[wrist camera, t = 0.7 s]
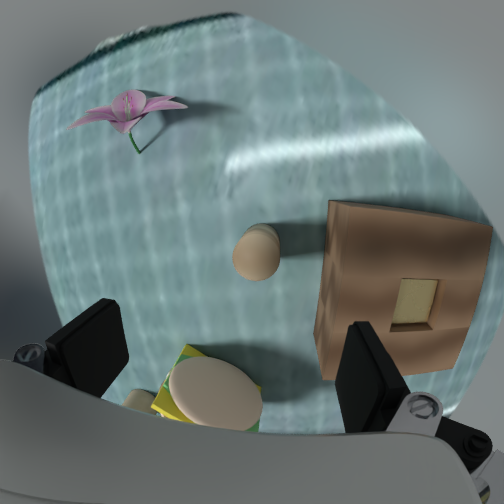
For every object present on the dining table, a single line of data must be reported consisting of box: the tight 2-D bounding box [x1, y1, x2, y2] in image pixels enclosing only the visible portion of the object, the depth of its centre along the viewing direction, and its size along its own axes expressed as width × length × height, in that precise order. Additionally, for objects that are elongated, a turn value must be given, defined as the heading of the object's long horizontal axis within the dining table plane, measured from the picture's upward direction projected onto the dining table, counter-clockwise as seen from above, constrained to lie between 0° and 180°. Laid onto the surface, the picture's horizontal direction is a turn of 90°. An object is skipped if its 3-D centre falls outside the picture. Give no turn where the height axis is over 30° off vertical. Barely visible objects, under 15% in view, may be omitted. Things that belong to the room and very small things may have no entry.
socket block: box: [313, 200, 493, 380], centre depth 25 cm, size 16×16×9 cm
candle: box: [122, 389, 157, 415], centre depth 33 cm, size 6×6×10 cm
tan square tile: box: [392, 278, 438, 323], centre depth 22 cm, size 4×4×1 cm
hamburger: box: [151, 344, 263, 432], centre depth 29 cm, size 12×8×12 cm
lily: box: [66, 90, 188, 154], centre depth 24 cm, size 12×12×10 cm
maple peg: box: [233, 224, 280, 281], centre depth 26 cm, size 4×4×7 cm
